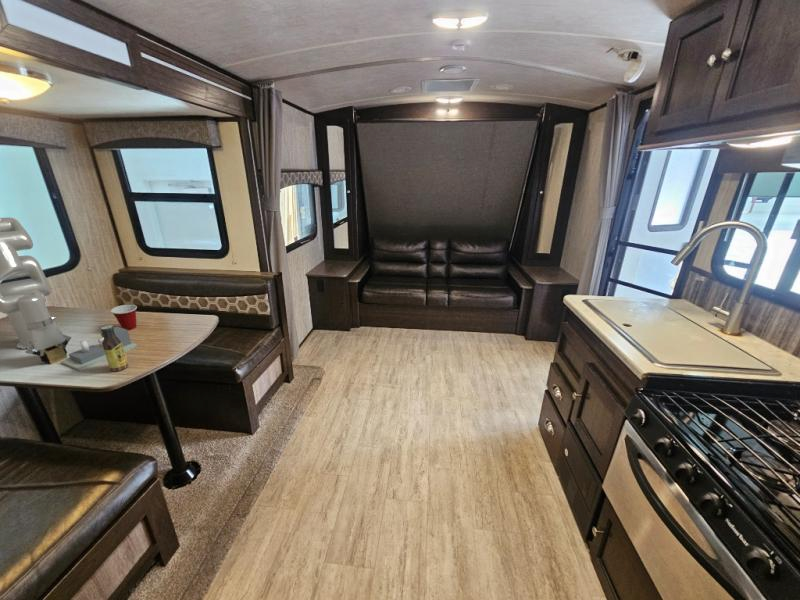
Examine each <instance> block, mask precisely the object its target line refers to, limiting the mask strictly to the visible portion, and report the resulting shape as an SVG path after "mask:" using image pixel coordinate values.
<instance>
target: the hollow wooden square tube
mask: <svg viewBox="0 0 800 600" xmlns="http://www.w3.org/2000/svg"><path fill="white" fill-rule="evenodd" d="M44 355H46V357H47V359H48V361H49V363H48V364H50V365H54V364H55V363H58V362H61V361H62V360H65V359H67V358H68V356H66V355H67V353H66V354H65V352H64V349H63V347H62V346H59V345H55V346H52V347H49V348H46V349H44Z"/></svg>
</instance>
